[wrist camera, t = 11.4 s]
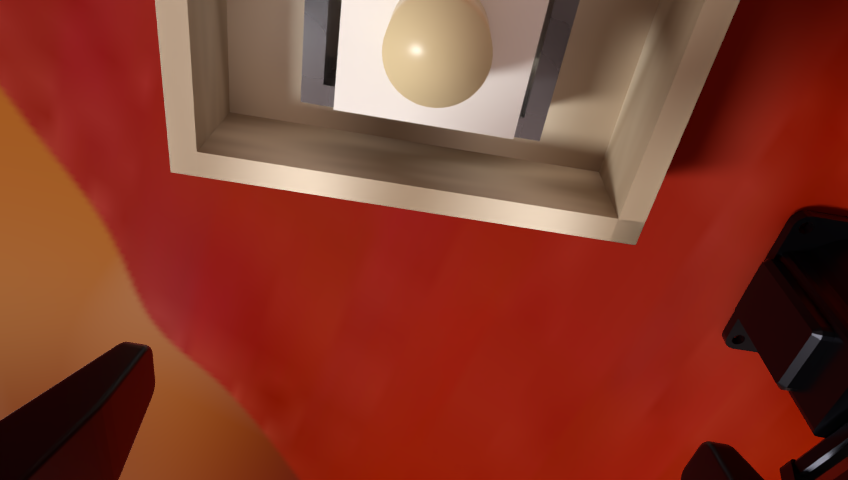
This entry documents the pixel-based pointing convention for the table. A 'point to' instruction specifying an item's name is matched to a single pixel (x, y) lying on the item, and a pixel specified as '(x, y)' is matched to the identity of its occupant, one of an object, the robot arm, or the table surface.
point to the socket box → (434, 146)
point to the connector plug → (438, 61)
